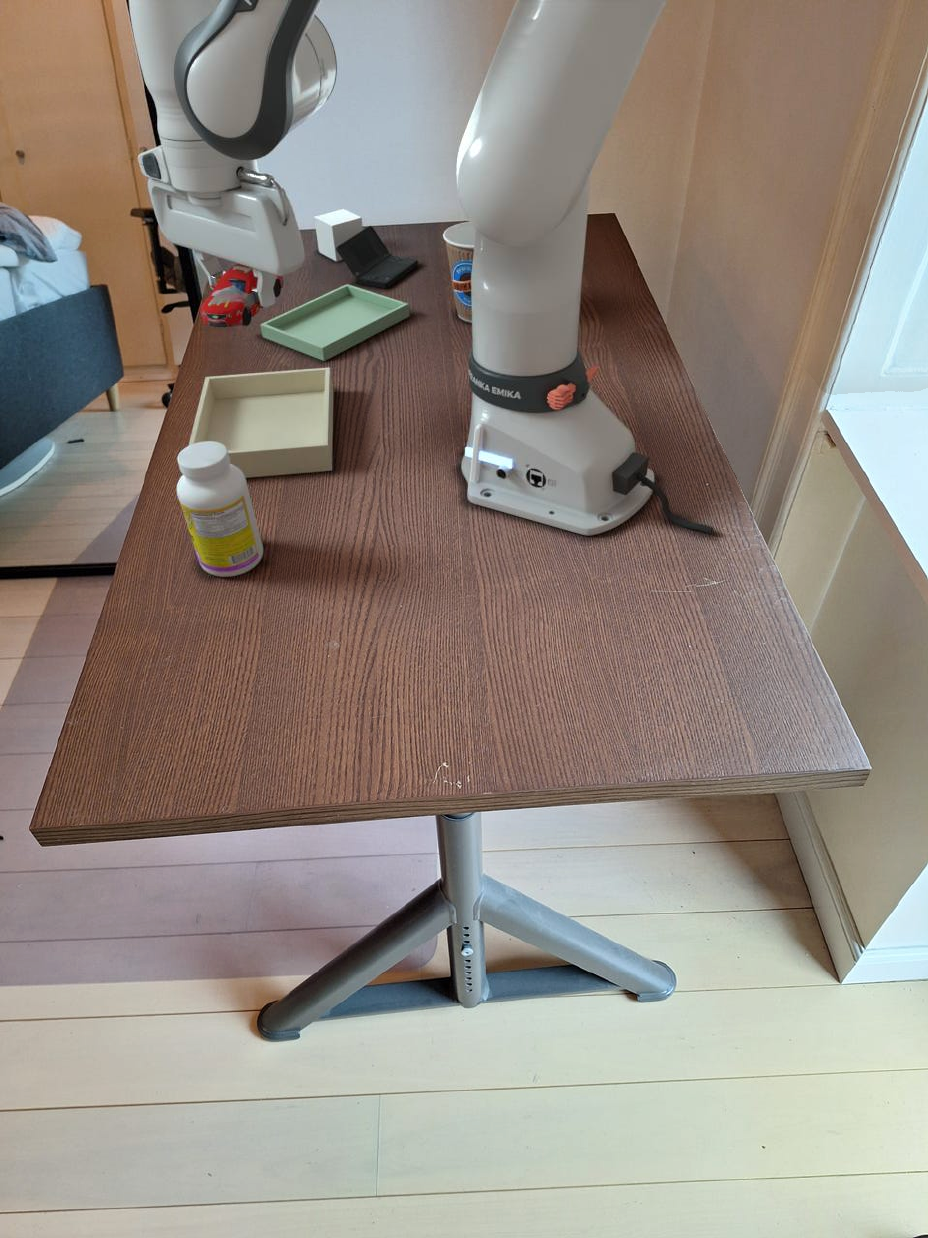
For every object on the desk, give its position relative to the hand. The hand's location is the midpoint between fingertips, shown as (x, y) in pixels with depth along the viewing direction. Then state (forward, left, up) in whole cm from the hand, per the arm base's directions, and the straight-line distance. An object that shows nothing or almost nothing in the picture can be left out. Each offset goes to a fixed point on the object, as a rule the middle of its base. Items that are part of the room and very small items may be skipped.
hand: (242, 296), depth 95 cm
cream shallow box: (0, +1, -17) cm, 17 cm away
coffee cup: (0, -42, -17) cm, 46 cm away
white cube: (+36, -48, -18) cm, 63 cm away
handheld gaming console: (+24, -45, -18) cm, 54 cm away
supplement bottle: (-16, +20, -18) cm, 31 cm away
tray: (+15, -26, -17) cm, 35 cm away
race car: (0, 0, -2) cm, 2 cm away
